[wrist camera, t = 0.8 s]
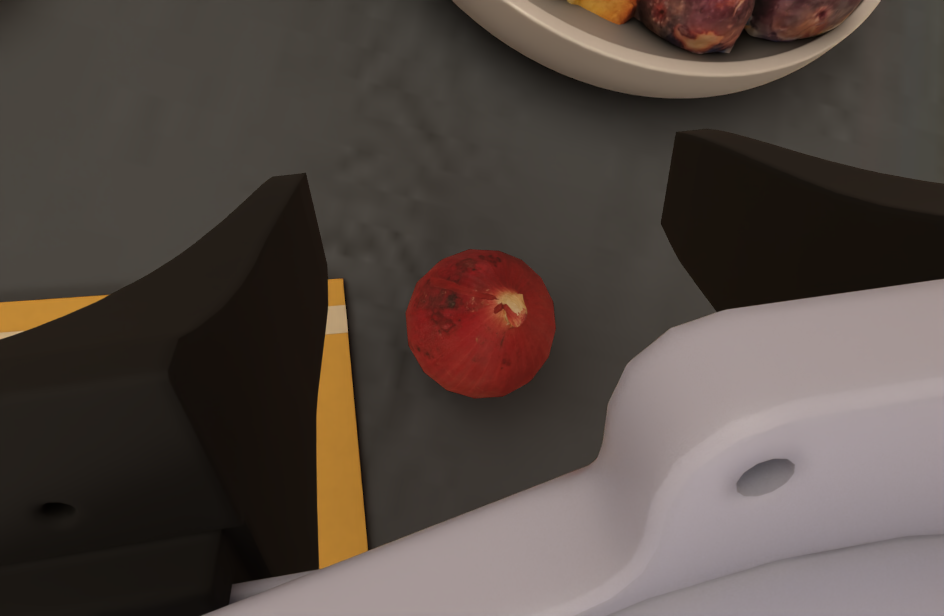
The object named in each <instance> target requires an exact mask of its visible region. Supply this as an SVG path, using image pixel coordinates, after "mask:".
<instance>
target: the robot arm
mask: <svg viewBox="0 0 944 616" xmlns="http://www.w3.org/2000/svg"><path fill="white" fill-rule="evenodd" d="M661 225H662V227H663V229H664V231H665V233H666V235H667V238H668V240H669V242H670V244H671V246H672V248H673V250H674V252H675V253H676V255H677V257H678V259H679V261H680V262H681V264H682V265H683V266H684V268H685V269H686V271H687V272H688V273H689V275H690V276H691V278H692V279H693V280H694V282H695V283H696V285H697V286H698V287H699V289H700V290H701V291H702V293H703V294H704V295H705V297H706V298H707V299H708V301H709V302H710V303H711V305H712V306H713V307H714V309H715V310H716V311H717V312H716V313H713V314H710V315H707V316H705V317H702V318H699V319H696V320H693V321H690V322H687V323H684V324H681V325H678V326H675V327H672V328H670V329H669V330H667V331H666V332H665V333H664V334H662V335H661V336H660V337H659V338H658V339H656V340H655V341H654V342H653V343H651V344H650V345H649V346H648V347H646V348H645V349H644V350H643V351H641V352H640V353H639V354H638V355H637V356H635V357H634V358H633V359H632V360H631V361H630V362H629V363H628V364H627V365H626V367H625V369H624V371H623V373H622V375H621V378H620V380H619V382H618V384H617V386H616V388H615V390H614V392H613V394H612V396H611V398H610V400H609V402H608V406H607V414H606V421H605V429H604V436H603V443H602V446H601V449H600V452H599V455H598V457H597V459H596V460H595V461H594V462H592V463H591V464H590V465H588V466H585V467H583V468H580V469H578V470H575V471H572V472H570V473H567V474H565V475H562V476H560V477H557V478H554V479H552V480H549V481H547V482H544V483H542V484H539V485H536V486H534V487H531V488H529V489H526V490H524V491H521V492H518V493H516V494H513V495H511V496H508V497H506V498H503V499H500V500H498V501H495V502H493V503H490V504H487V505H485V506H482V507H480V508H477V509H475V510H472V511H469V512H467V513H464V514H462V515H459V516H457V517H454V518H451V519H449V520H446V521H444V522H441V523H439V524H436V525H433V526H431V527H428V528H426V529H423V530H420V531H418V532H415V533H413V534H410V535H408V536H405V537H402V538H400V539H397V540H395V541H392V542H390V543H387V544H384V545H382V546H379V547H377V548H374V549H372V550H369V551H366V552H364V553H361V554H359V555H356V556H353V557H351V558H348V559H346V560H343V561H341V562H338V563H335V564H333V565H330V566H328V567H325V568H323V569H319V544H318V512H317V401H318V390H319V382H320V373H321V365H322V357H323V349H324V341H325V332H326V324H327V315H328V273H327V262H326V258H325V253H324V249H323V245H322V240H321V236H320V232H319V228H318V223H317V219H316V215H315V210H314V206H313V202H312V198H311V193H310V189H309V185H308V180H307V176H306V173H302V174H293V175H284V176H275V177H271V178H270V179H268V180H267V181H266V182H265V183H264V184H262V185H261V186H260V187H259V188H258V189H257V190H256V191H255V192H254V193H253V194H252V195H250V196H249V197H248V198H247V199H246V200H245V201H244V202H243V203H242V204H241V205H240V206H239V207H237V208H236V209H235V210H234V211H233V212H232V213H231V214H230V215H229V216H228V217H227V218H225V219H224V220H223V221H222V222H221V223H219V224H218V225H217V226H216V227H215V228H213V229H212V230H211V231H210V232H208V233H207V234H206V235H205V236H203V237H202V238H201V239H200V240H198V241H197V242H196V243H195V244H193V245H192V246H191V247H189V248H188V249H187V250H185V251H184V252H183V253H181V254H180V255H178V256H177V257H175V258H174V259H172V260H171V261H169V262H168V263H166V264H164V265H163V266H161V267H160V268H158V269H156V270H155V271H153V272H152V273H150V274H148V275H147V276H145V277H143V278H141V279H139V280H138V281H136V282H134V283H132V284H130V285H128V286H126V287H124V288H122V289H120V290H118V291H116V292H114V293H112V294H110V295H108V296H106V297H105V298H103V299H101V300H99V301H97V302H95V303H92V304H90V305H88V306H86V307H83V308H81V309H79V310H76V311H74V312H72V313H70V314H67V315H65V316H62V317H60V318H57V319H55V320H52V321H50V322H47V323H45V324H42V325H40V326H37V327H34V328H32V329H29V330H26V331H23V332H21V333H18V334H15V335H12V336H9V337H6V338H3V339H0V616H944V184H941V183H934V182H927V181H921V180H915V179H910V178H904V177H899V176H893V175H888V174H882V173H878V172H873V171H868V170H864V169H859V168H855V167H851V166H848V165H844V164H840V163H836V162H832V161H828V160H824V159H820V158H817V157H813V156H810V155H806V154H803V153H799V152H796V151H792V150H789V149H786V148H782V147H779V146H776V145H772V144H769V143H765V142H762V141H759V140H755V139H752V138H748V137H745V136H741V135H737V134H733V133H729V132H724V131H719V130H712V129H700V130H691V131H682V132H676V136H675V142H674V148H673V154H672V160H671V166H670V171H669V177H668V183H667V189H666V195H665V201H664V207H663V213H662V219H661Z"/></svg>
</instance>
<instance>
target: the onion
mask: <svg viewBox="0 0 944 616" xmlns="http://www.w3.org/2000/svg"><path fill="white" fill-rule="evenodd" d="M406 322H407V334H408V345H409V347H410V349H411V350H412V352H413V354H414V356H415V357H416V359H417V361H418V362H419V364H420V366H421V368H422V369H423V371H424V372H425V373H426V374H427V375H428V376H430V377H431V378H432V379H433V380H435V381H436V382H437V383H438V384H440V385H441V386H442V387H443V388H445V389H446V390H448V391H451V392H455V393H458V394H461V395H465V396H468V397H472V398H487V397H501V396H505V395H507V394H508V393H510V392H512V391H514V390H516V389H518V388H520V387H521V386H523V385H525V384H527V383H528V382H530V381H531V380H532V379H533V377H534V376H535V375H536V373H537V372H538V371H539V369H540V368H541V367H542V365H543V364H544V362H545V361H546V360H547V358H548V357H549V353H550V349H551V346H552V342H553V338H554V334H555V329H556V327H555V316H554V306H553V301H552V299H551V297H550V295H549V293H548V291H547V289H546V287H545V285H544V283H543V280H542V278H541V277H540V276H539V275H538V274H536V273H535V272H534V271H533V270H532V269H531V268H530V267H529V266H528V265H527V264H526V263H525V262H523V261H522V260H520V259H518V258H515V257H513V256H510V255H508V254H506V253H503V252H501V251H492V250H473V249H469V250H466V251H463V252H461V253H458V254H455V255H453V256H450V257H447V258H444V259H443V260H441V261H440V262H438V263H437V264H436V265H435V266H434V267H433V268H432V269H431V270H430V271H429V272H428V273H427V274H426V275H425V276H423V277H422V278H421V279H420V280H419V281H418V282H417V283H416V286H415V289H414V292H413V294H412V297H411V300H410V303H409V305H408V308H407V311H406Z"/></svg>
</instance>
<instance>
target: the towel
mask: <svg viewBox="0 0 944 616" xmlns="http://www.w3.org/2000/svg"><path fill="white" fill-rule="evenodd" d="M106 296H108V295H100V296H85V297H71V298H57V299H42V300H28V301H14V302H0V339H3V338H6V337H9V336H12V335H15V334H18V333H21V332H23V331H26V330H29V329H32V328H34V327H37V326H40V325H42V324H45V323H47V322H50V321H52V320H55V319H57V318H60V317H62V316H65V315H67V314H70V313H72V312H74V311H76V310H79V309H81V308H83V307H86V306H88V305H90V304H92V303H95V302H97V301H99V300H101V299H103V298H105V297H106ZM317 512H318V544H319V569H323V568H325V567H328V566H330V565H333V564H335V563H338V562H341V561H343V560H346V559H348V558H351V557H353V556H356V555H359V554H361V553H364V552H366V551H368V544H367V533H366V522H365V511H364V500H363V490H362V479H361V468H360V457H359V446H358V436H357V425H356V414H355V403H354V392H353V381H352V371H351V360H350V349H349V338H348V326H347V316H346V305H345V295H344V284H343V279H329V280H328V315H327V324H326V332H325V341H324V349H323V357H322V365H321V373H320V382H319V390H318V401H317Z"/></svg>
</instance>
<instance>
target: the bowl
mask: <svg viewBox="0 0 944 616" xmlns="http://www.w3.org/2000/svg"><path fill="white" fill-rule="evenodd" d="M452 1H453V2H454V3H455V4H456V5H457V6H458V7H459V8H460V9H461V10H463V11H464V12H465V13H466V14H467V15H468V16H470V17H471V18H472V19H473V20H474V21H475V22H477V23H478V24H479V25H480V26H482V27H483V28H484V29H486V30H487V31H488V32H490V33H491V34H492V35H493V36H495V37H496V38H498V39H499V40H501V41H502V42H504V43H505V44H507V45H508V46H510V47H511V48H513V49H515V50H516V51H518V52H520V53H521V54H523V55H524V56H526V57H528V58H530V59H532V60H534V61H536V62H537V63H539V64H541V65H543V66H545V67H547V68H550V69H552V70H554V71H556V72H558V73H561V74H563V75H566V76H568V77H571V78H573V79H576V80H579V81H582V82H585V83H588V84H591V85H594V86H597V87H601V88H604V89H608V90H612V91H616V92H621V93H626V94H631V95H638V96H646V97H656V98H702V97H711V96H719V95H726V94H730V93H735V92H740V91H744V90H748V89H751V88H754V87H758V86H761V85H764V84H766V83H769V82H772V81H774V80H777V79H779V78H782V77H784V76H786V75H788V74H790V73H792V72H794V71H796V70H798V69H800V68H802V67H804V66H805V65H807V64H809V63H811V62H812V61H814V60H816V59H817V58H819V57H820V56H822V55H823V54H824V53H826V52H827V51H829V50H830V49H831V48H833V47H834V46H835V45H837V44H838V43H839V42H841V41H842V40H843V39H845V38H846V37H847V36H848V35H850V34H851V33H852V32H853V31H854V30H855V29H856V28H858V27H859V26H860V25H861V24H862V22H863V21H864V20H865V19H866V18H867V17H868V16H869V15H870V14H871V13H872V11H873V10H874V9H875V8H876V6H877V5H878V4H879V2H880V1H881V0H452Z"/></svg>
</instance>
